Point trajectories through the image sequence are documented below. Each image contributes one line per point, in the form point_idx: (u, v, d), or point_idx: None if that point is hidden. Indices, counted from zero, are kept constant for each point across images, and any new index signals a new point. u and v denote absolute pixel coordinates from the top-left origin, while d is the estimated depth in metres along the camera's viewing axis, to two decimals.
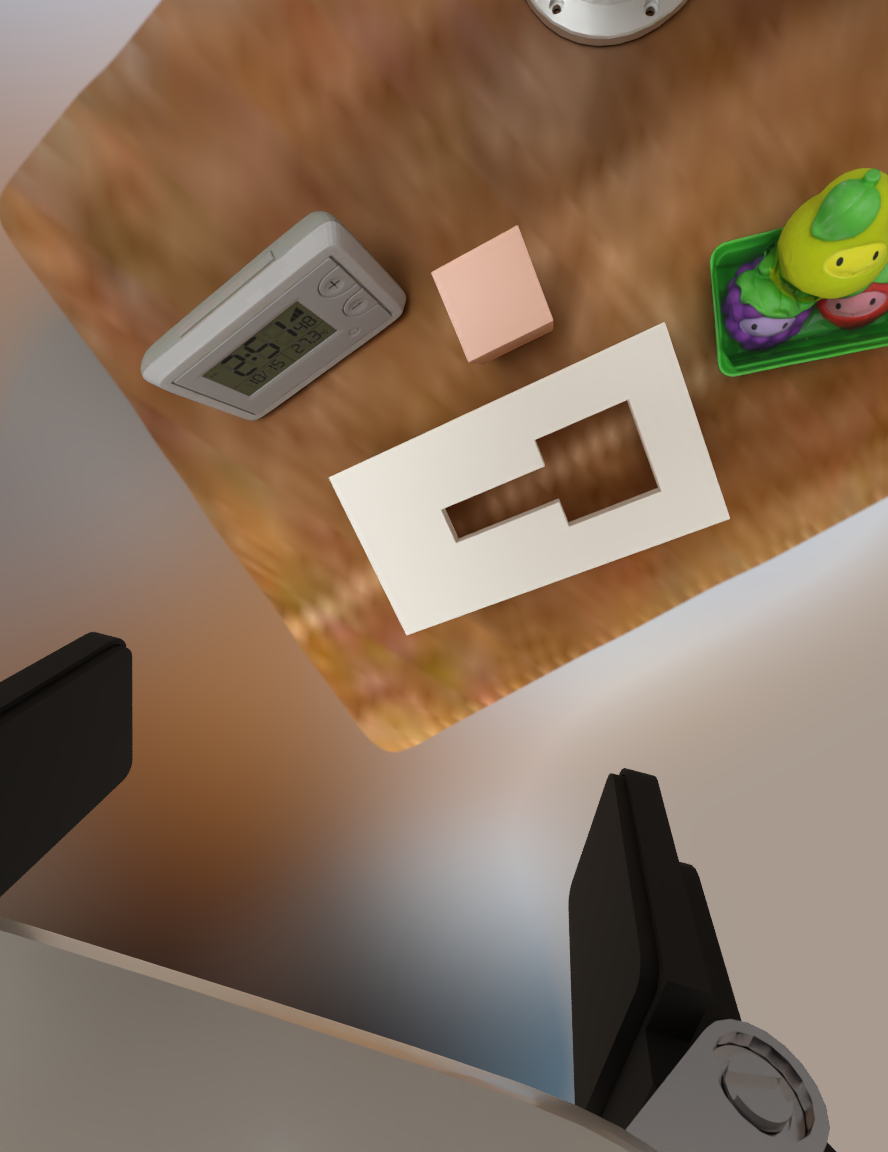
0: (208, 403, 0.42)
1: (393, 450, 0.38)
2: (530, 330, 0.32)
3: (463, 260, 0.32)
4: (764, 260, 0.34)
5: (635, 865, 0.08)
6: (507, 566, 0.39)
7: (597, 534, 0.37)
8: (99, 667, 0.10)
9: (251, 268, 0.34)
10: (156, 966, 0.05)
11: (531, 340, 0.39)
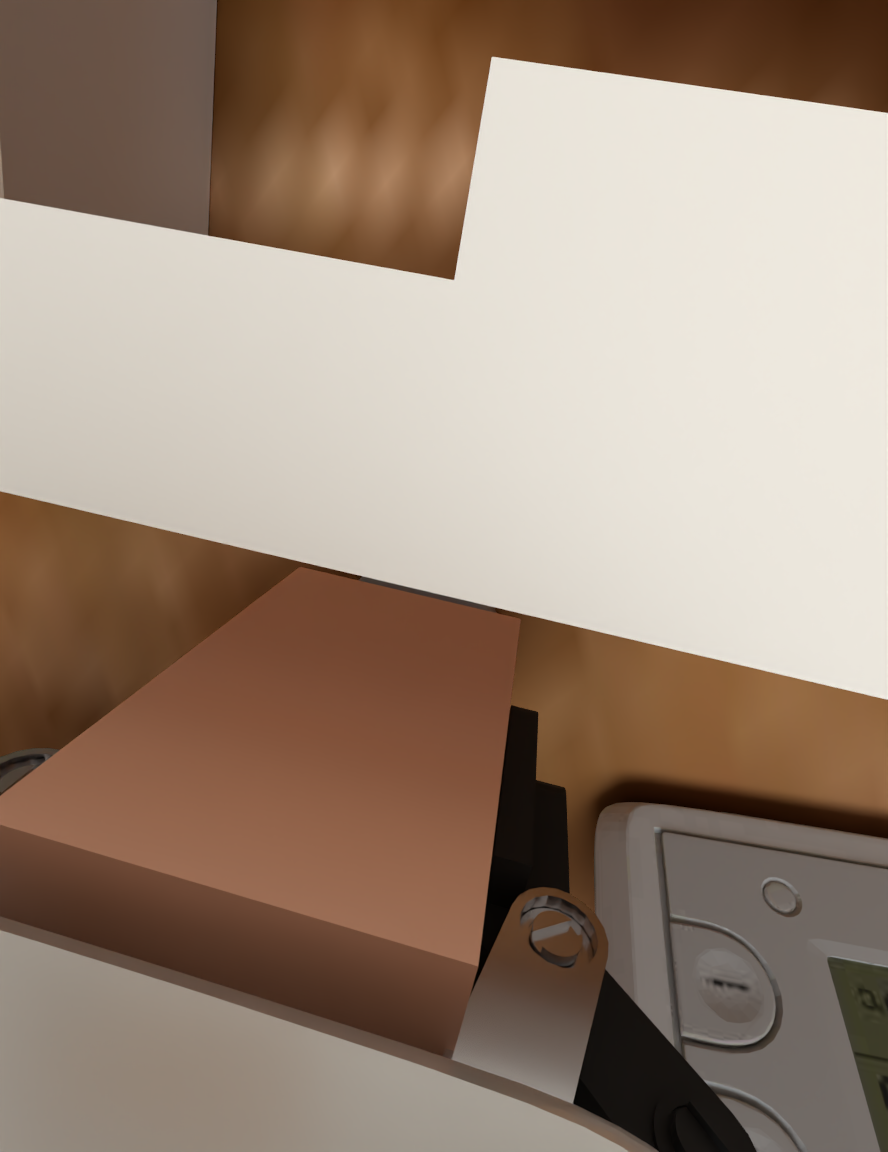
0: None
1: None
2: (97, 854, 0.06)
3: None
4: None
5: None
6: None
7: None
8: None
9: None
10: (156, 966, 0.05)
11: (358, 588, 0.13)
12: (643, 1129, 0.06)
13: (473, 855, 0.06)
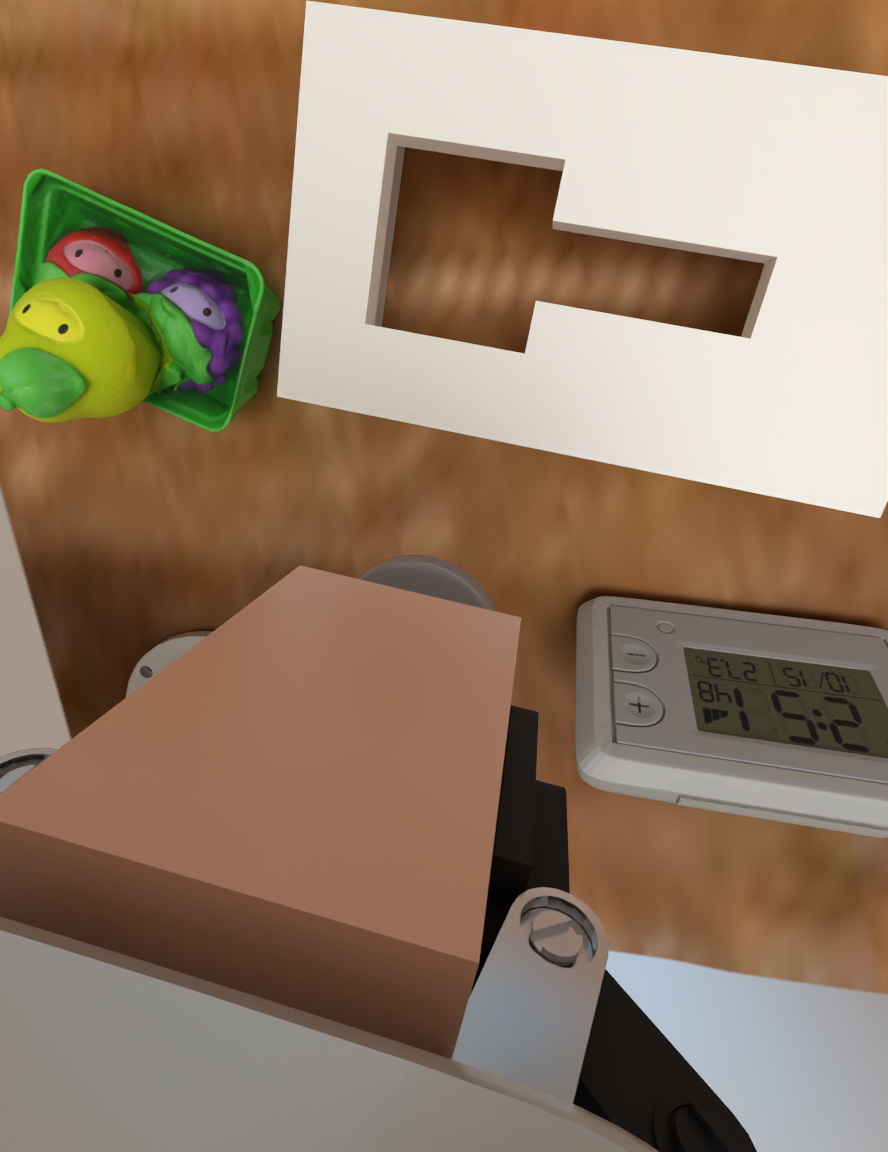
0: None
1: (739, 484, 0.21)
2: (97, 851, 0.06)
3: None
4: (173, 382, 0.27)
5: None
6: (725, 143, 0.18)
7: (528, 110, 0.18)
8: None
9: (716, 809, 0.24)
10: (156, 966, 0.05)
11: (358, 587, 0.13)
12: (643, 1129, 0.06)
13: (474, 852, 0.06)
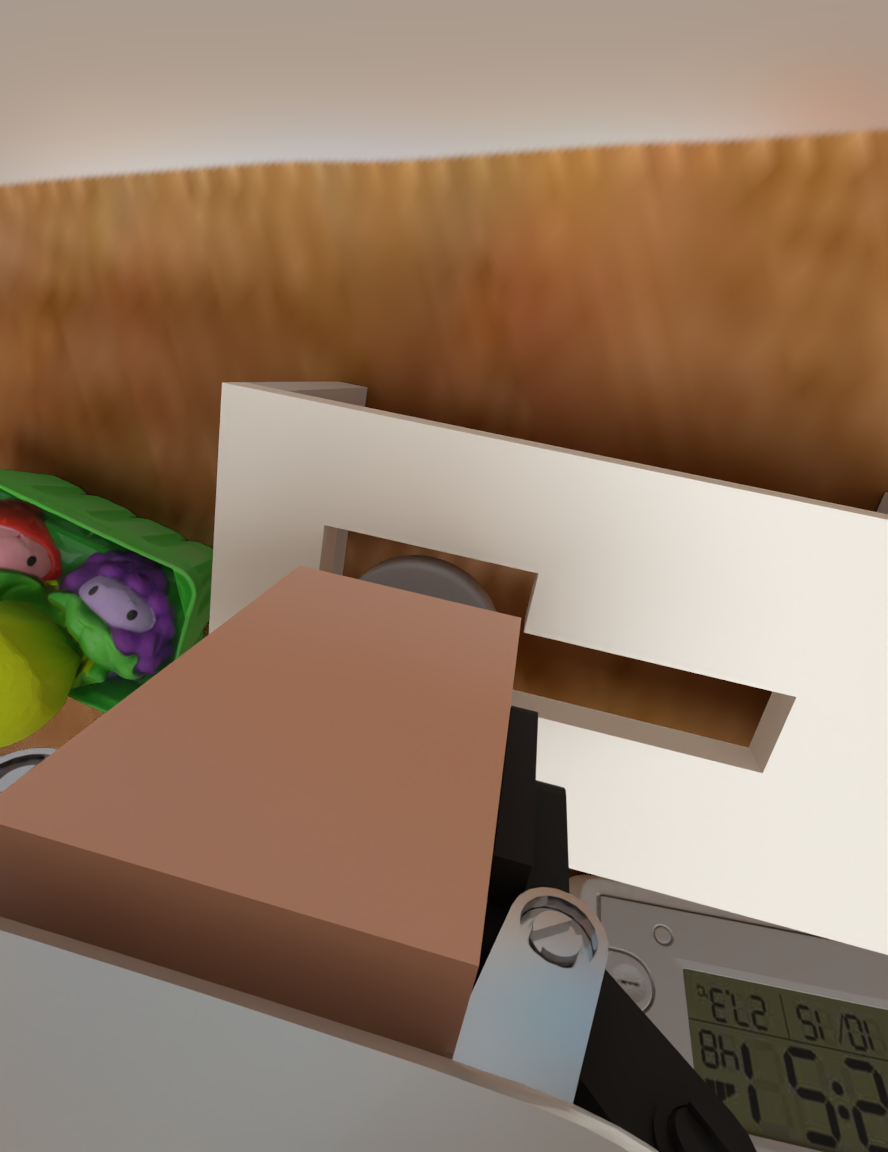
0: None
1: (748, 911, 0.17)
2: (95, 854, 0.06)
3: None
4: (96, 682, 0.24)
5: None
6: (734, 577, 0.15)
7: (493, 519, 0.15)
8: None
9: None
10: (156, 966, 0.05)
11: (358, 587, 0.13)
12: (643, 1129, 0.06)
13: (473, 854, 0.06)
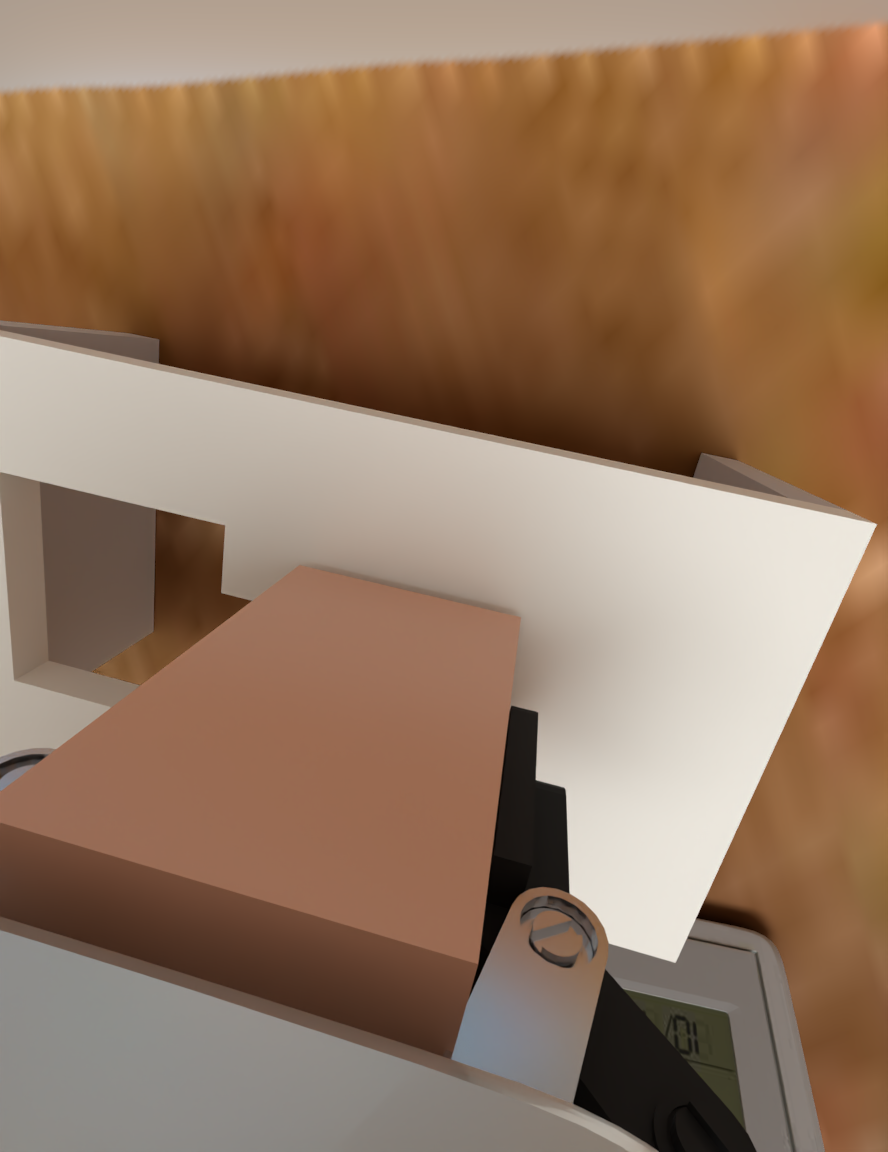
0: (802, 1104, 0.20)
1: None
2: (95, 852, 0.06)
3: None
4: None
5: None
6: (426, 528, 0.13)
7: (168, 464, 0.13)
8: None
9: None
10: (156, 966, 0.05)
11: (358, 587, 0.13)
12: (643, 1129, 0.06)
13: (473, 853, 0.06)
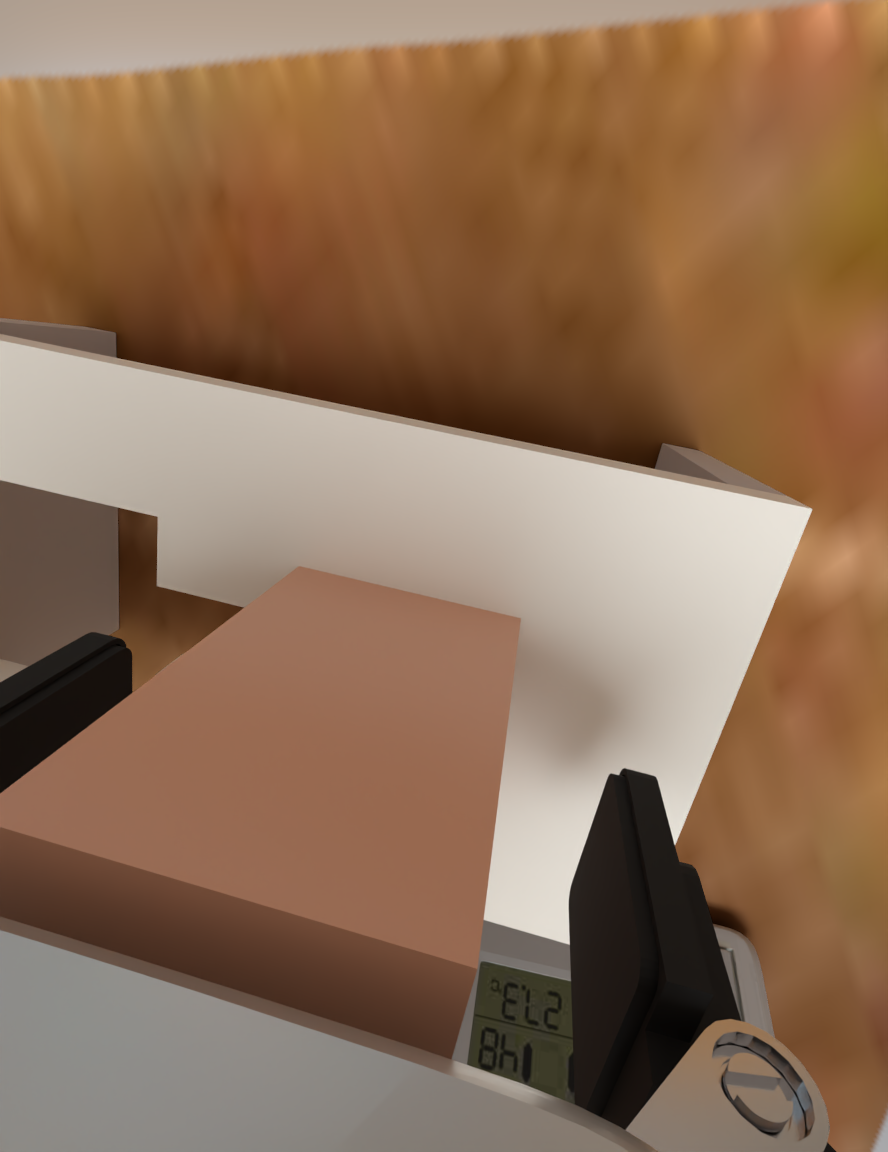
0: None
1: None
2: (93, 856, 0.06)
3: None
4: None
5: (635, 865, 0.08)
6: (359, 517, 0.13)
7: (98, 454, 0.13)
8: (99, 667, 0.10)
9: None
10: (156, 966, 0.05)
11: (357, 588, 0.13)
12: None
13: (472, 856, 0.06)
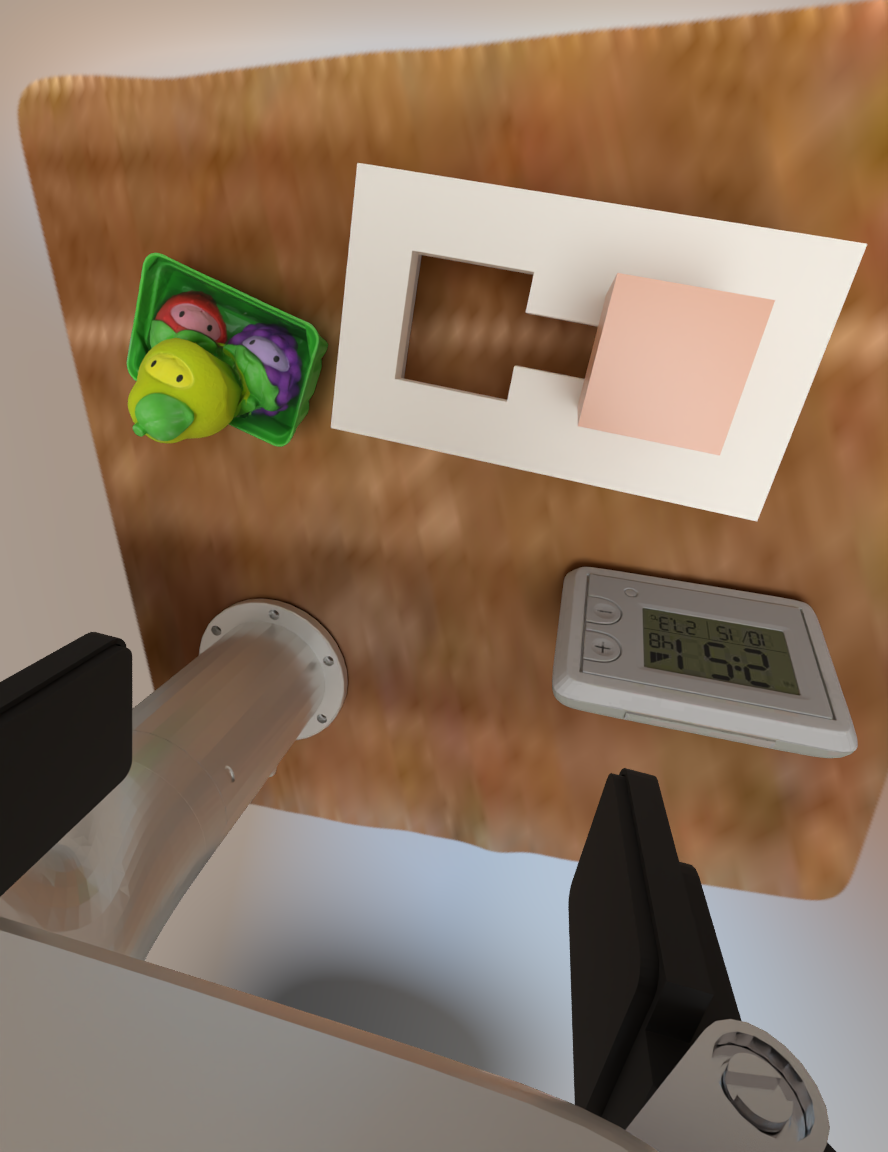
0: (829, 665, 0.34)
1: (658, 496, 0.29)
2: (656, 281, 0.19)
3: (669, 437, 0.21)
4: (249, 410, 0.36)
5: (636, 865, 0.08)
6: (642, 264, 0.26)
7: (508, 239, 0.27)
8: (99, 667, 0.10)
9: (652, 723, 0.32)
10: (156, 967, 0.05)
11: None
12: None
13: None
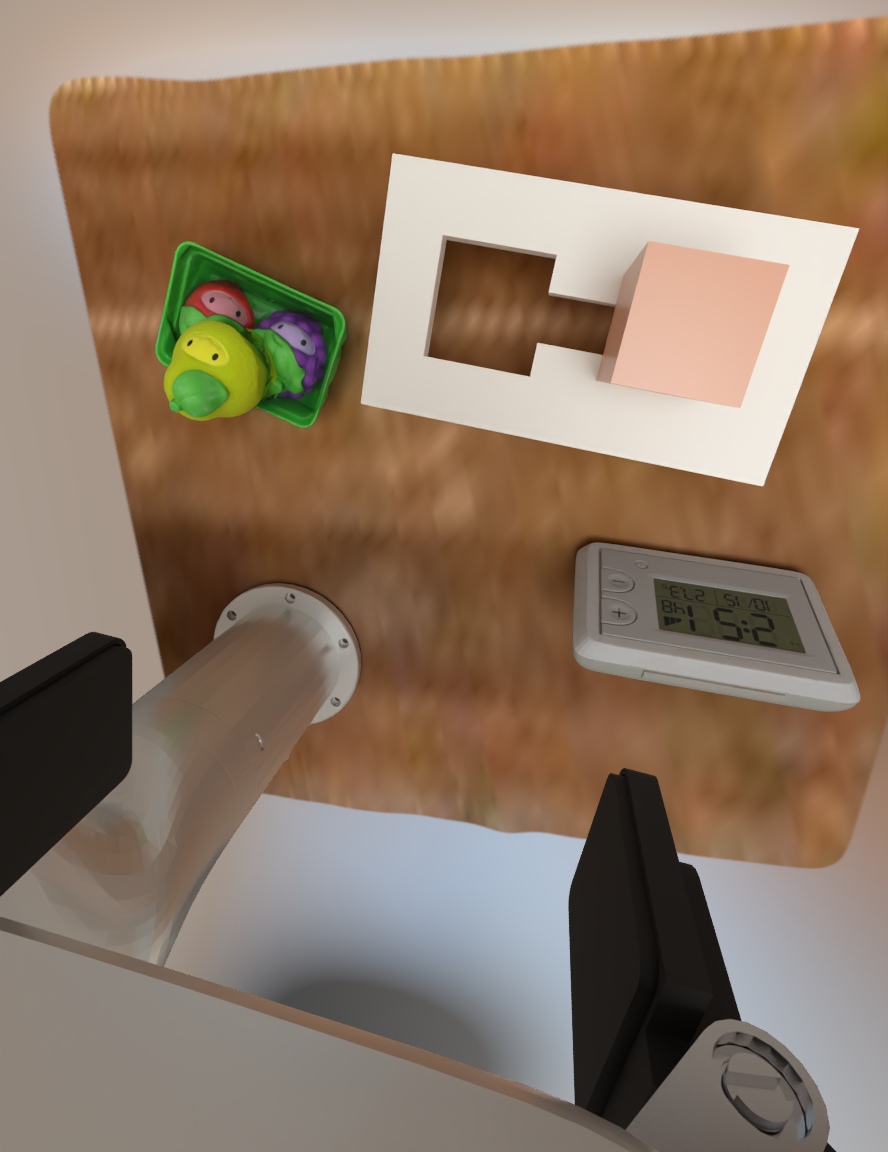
0: (829, 627, 0.36)
1: (671, 464, 0.32)
2: (683, 249, 0.22)
3: (694, 392, 0.23)
4: (276, 392, 0.38)
5: (635, 865, 0.08)
6: None
7: (533, 224, 0.29)
8: (99, 667, 0.10)
9: (669, 681, 0.34)
10: (156, 966, 0.05)
11: None
12: None
13: None
